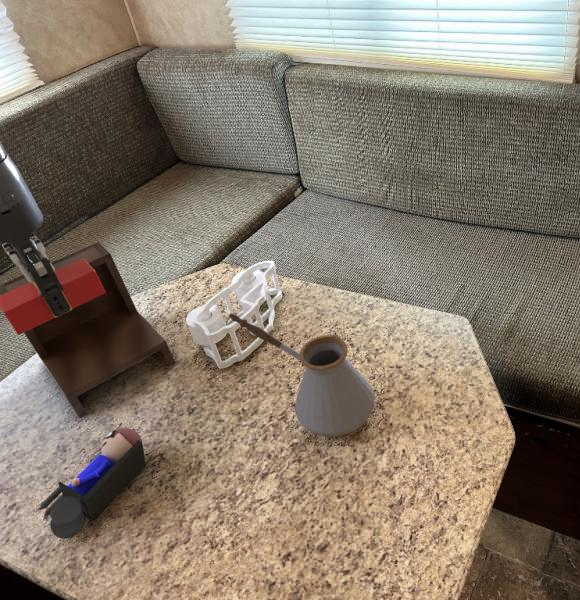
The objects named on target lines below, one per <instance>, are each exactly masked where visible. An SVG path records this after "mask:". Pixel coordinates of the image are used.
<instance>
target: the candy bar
mask: <svg viewBox="0 0 580 600" xmlns="http://www.w3.org/2000/svg"><path fill="white" fill-rule="evenodd" d="M55 274H56V276H57V278H58V280H59V282H60V284H62V286H63V290H64V291H62V293H63V295H64V297H65V299H66V300H67V302H68V304H69V306H70V308H71V309H70V311H71V310H72V309H73V308H76V307H78V306H80V305H82V304H84V303H86V302H88V301H90V300H92V299H94V298H96V297H98V296H100V295H102V294H104V293H106V292H105V290H104V288H103V286H102V284H101V282H100V280H99V278H98V276H97V274H96V272H95V270H94V269H93V268H92V267H91V266H90V265H89V264H88V263H87V262H86V261H85V260H84V259H80V260H78V261H76V262H74V263H72V264H69V265H67V266H65V267H63V268H60V269H58V270H56V271H55ZM38 292H39V291H38V289H37V287H36V286H35V284H34V283H32V282H29V283H27V284H25V285H23V286H20V287H18V288H16V289H14V290H11V291H9V292H7V293H5V294H2V295H0V310H1V311H2V313H3V315H4V316H5V318H6V319H7V321H8V322H9V323H10V325H11V326H12V328H13V330H14V332H16V334H17V335H18V336H20V335H22V334H24V332H26V331H28V330H30V329H32V328H34V327H36V326H38V325H41V324H43V323H45V322H47V321H49V320H51V319H53V318H56V317H58V316H55V315H54V314H53V313H52V311H51V310H50V308H49V306H48V304H47V303H46V301H45V299H44V298H43V297H42V296H41V295H40V294H39V293H38ZM68 312H69V311H68Z"/></svg>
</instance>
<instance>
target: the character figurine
mask: <svg viewBox="0 0 580 600" xmlns="http://www.w3.org/2000/svg"><path fill="white" fill-rule="evenodd" d="M146 466H147V463H146V456H145V451H144V444H143V439H142V437H141V435H140V434H139V433H138V431H136V430H134V429H132V428H129V427H119V428H116V429H114V430H112V431H110V432H109V433H107V434H106V436H105V438H104V439H103V441H102V443H101V454H98V455H97V456H96V457H95V458H94V459H93V460H91V462H89V464H88V465H87V466H86V467H85V468H84V469H83V470H81V472H80V473H79V474H78V475H77V476H76V477H74V478H73V479H72V480H71V482H70V483H68V485H67V484H65V483H63V481H59V482H58V487H56V488H55V490H54V491H52V493H50V494H49V495H48V496H47V497H46V499H44V500H43V502H41V504H40V506H39V511H41V510H44V514H43V518H46V517H48V516H50V518H51V520H50V525H49V526H50V530H51V532H52V534H53V535H54V536H55V537H56V538H59V539H61V540H66V539H71V538H73V537H75V536H77V535H79V534H80V533H81V532H82V531H83V529H84V528H85V525H86V519H88V520H89V521H90V520H91V521H92V522H95V521H96V520H97V519H98V518H99V517H101V515H102V514H103V513H104V512H105V511H106V510H107V508H108V507H109V506H110V505H111V504H112V503H113V502H114V501H115V500H116V499H117V498H118V497H119V496H120V495H121V493H122V492H123V491H124V490H125V489H126V488H127V487H128V486H129V484H131V482H132V481H133V480H134V479H135V478H136V477H137V476H138V475H139V474H140V473H141V472H142V470H144V469H145V467H146ZM60 494H61V495H60ZM56 498H57V499H56ZM49 505H50V506H49ZM45 509H46V510H45Z"/></svg>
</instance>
